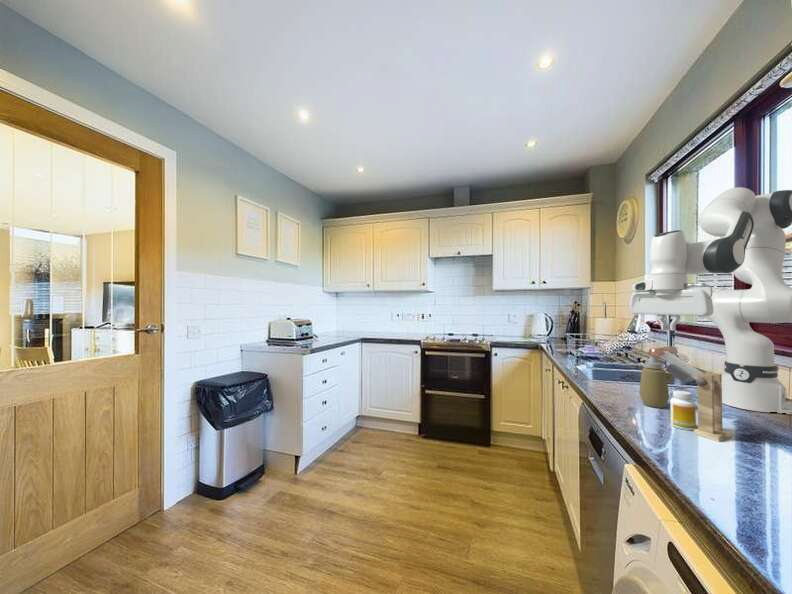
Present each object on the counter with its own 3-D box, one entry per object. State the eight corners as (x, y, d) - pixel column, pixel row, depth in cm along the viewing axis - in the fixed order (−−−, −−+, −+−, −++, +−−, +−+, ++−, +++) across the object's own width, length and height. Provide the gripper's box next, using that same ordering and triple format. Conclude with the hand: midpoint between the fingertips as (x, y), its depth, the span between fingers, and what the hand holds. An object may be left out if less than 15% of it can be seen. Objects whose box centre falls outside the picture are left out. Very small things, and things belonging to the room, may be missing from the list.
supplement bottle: (700, 431, 90) (700, 395, 90) (678, 430, 91) (677, 394, 91) (687, 424, 95) (687, 390, 95) (666, 422, 96) (665, 389, 96)
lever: (663, 355, 103) (670, 344, 101) (716, 389, 91) (726, 377, 89) (643, 357, 99) (651, 346, 97) (697, 393, 87) (707, 381, 85)
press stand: (707, 429, 91) (706, 371, 91) (732, 436, 86) (730, 374, 86) (693, 434, 88) (692, 373, 88) (718, 441, 83) (717, 377, 83)
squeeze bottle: (633, 401, 116) (632, 350, 116) (657, 402, 116) (656, 350, 116) (650, 409, 108) (649, 354, 108) (676, 409, 108) (675, 354, 108)
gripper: (717, 283, 92) (718, 332, 92) (638, 286, 111) (638, 327, 110) (706, 282, 89) (706, 333, 89) (626, 285, 108) (626, 328, 108)
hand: (668, 330), depth 100 cm, fingers closed
